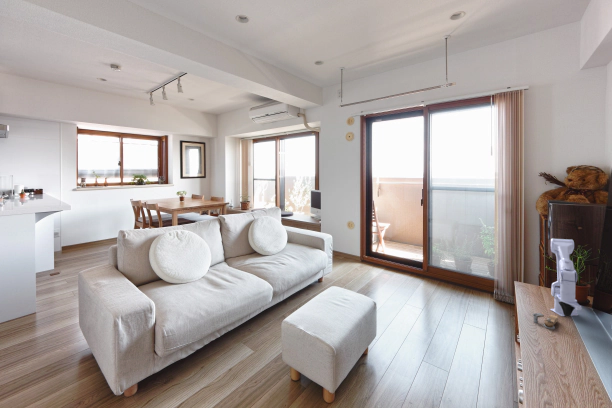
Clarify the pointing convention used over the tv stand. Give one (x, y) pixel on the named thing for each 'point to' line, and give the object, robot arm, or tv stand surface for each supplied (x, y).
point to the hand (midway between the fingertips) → (567, 315)
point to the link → (551, 320)
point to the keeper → (537, 316)
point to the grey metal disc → (548, 327)
